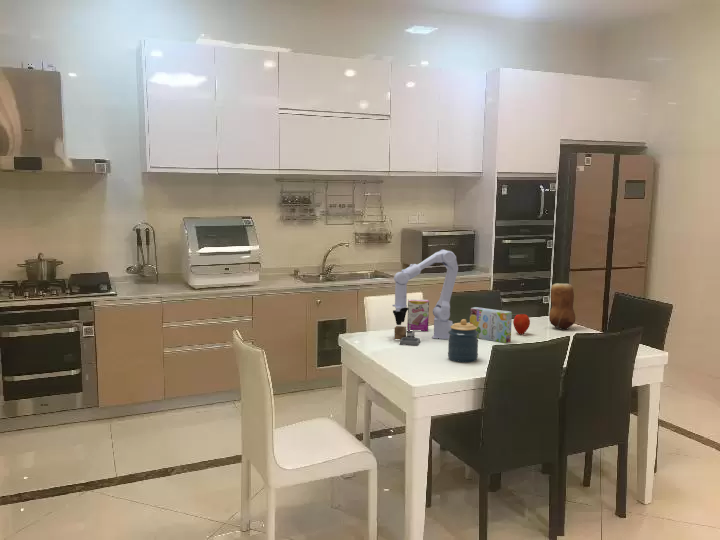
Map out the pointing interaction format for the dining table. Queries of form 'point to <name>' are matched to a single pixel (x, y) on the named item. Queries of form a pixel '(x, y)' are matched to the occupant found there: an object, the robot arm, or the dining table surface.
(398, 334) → the block
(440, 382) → the dining table surface
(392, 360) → the dining table surface
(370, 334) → the dining table surface
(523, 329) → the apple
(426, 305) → the candy bar box
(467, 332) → the canister
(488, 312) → the snack box
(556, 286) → the butternut squash
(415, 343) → the tray
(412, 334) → the crank lever
